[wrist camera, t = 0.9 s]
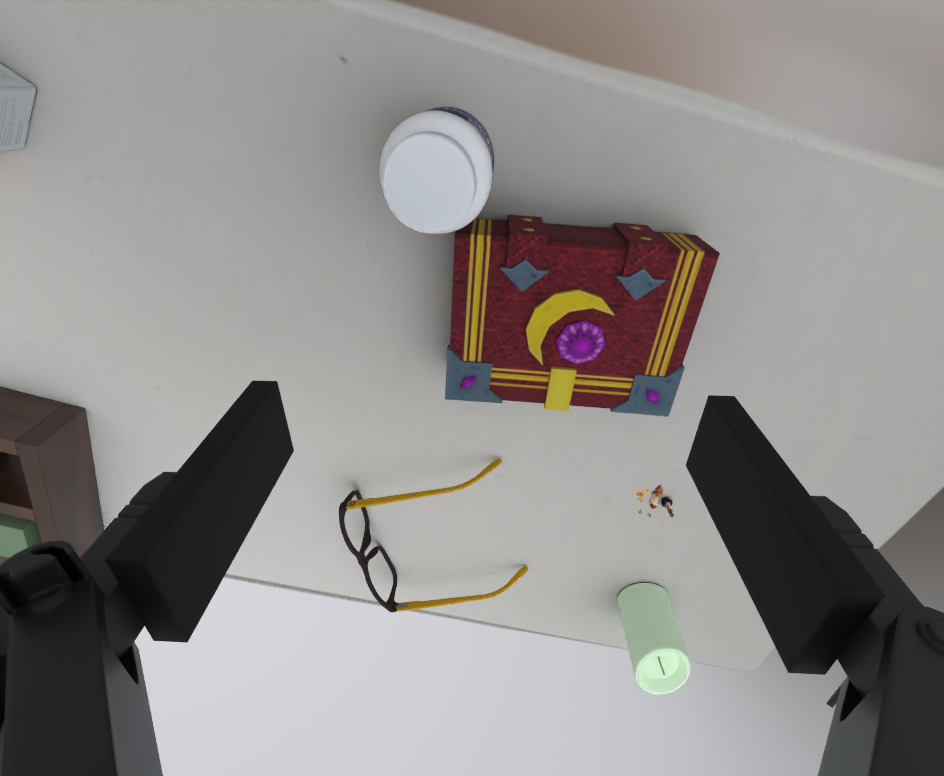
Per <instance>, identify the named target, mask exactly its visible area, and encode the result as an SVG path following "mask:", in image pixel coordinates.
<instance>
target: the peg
mask: <svg viewBox="0 0 944 776" xmlns="http://www.w3.org/2000/svg"><path fill="white" fill-rule="evenodd" d="M40 543H42V541H41V537H40V533H39V529H38V525H37V522H36V521H31V520H27V519H23V518H18V517H14V516H10V515H5V514H1V513H0V556H4V557H8V558H10V557H12V556H13V555H14V554H16V553H18V552H20V551H22V550H24V549H26V548H28V547H30V546H33V545H36V544H40Z"/></svg>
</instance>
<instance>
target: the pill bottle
mask: <svg viewBox="0 0 944 776" xmlns="http://www.w3.org/2000/svg"><path fill="white" fill-rule="evenodd" d="M493 167H494V153H493V147H492V143H491V140H490V137H489V135H488V133H487V131H486V130H485V128H484V127H483V125H482V124H481V123H480V122H479V121H478V120H477V119H476V118H475V117H473V116H472V115H471V114H469V113H467V112H465V111H463V110H460V109H457V108H453V107H440V108H435V109H431V110H427V111H423V112H419V113H417V114H414V115H412V116H411V117H409V118H407V119H405V120H404V121H403V122H401V123H400V124H399V125H398V126H397V127H396V128H395V129H394V130H393V132H392V133H391V134H390V136H389V137H388V139H387V141H386V143H385V145H384V148H383V151H382V154H381V159H380V169H379V171H380V182H381V186H382V190H383V193H384V197H385V199H386V202H387V204H388V206H389V208H390V210H391V211H392V213H393V214H394V215H395V217H396V218H397V219H398V220H399V221H400V222H402V223H403V224H404V225H406V226H407V227H409V228H411V229H413V230H415V231H418V232H422V233H436V234H441V233H449V232H453V231H456V230H458V229H461V228H463V227H464V226H466V225H468V224H469V223H470V222H471V221H472V220H474V219H475V218H476V217H477V215H478V214H479V213H480V212H481V210H482V209H483V207H484V205H485V203H486V201H487V199H488V196H489V193H490V190H491V185H492V175H493Z"/></svg>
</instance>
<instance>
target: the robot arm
mask: <svg viewBox="0 0 944 776" xmlns="http://www.w3.org/2000/svg"><path fill="white" fill-rule="evenodd" d="M293 451H294V449H293V445H292V441H291V437H290V433H289V429H288V424H287V420H286V416H285V412H284V408H283V404H282V400H281V395H280V391H279V387H278V383H277V381H252V382H251V383H250V384H249V386H248V387H247V388H246V389H245V391H244V392H243V393H242V394H241V395H240V397H239V398H238V399H237V400H236V401H235V403H234V404H233V405H232V406H231V408H230V409H229V410H228V411H227V412H226V414H225V415H224V416H223V417H222V418H221V420H220V421H219V422H218V423H217V424H216V426H215V427H214V428H213V429H212V431H211V432H210V433H209V434H208V435H207V437H206V438H205V439H204V440H203V441H202V443H201V444H200V445H199V446H198V447H197V449H196V450H195V451H194V452H193V454H192V455H191V456H190V457H189V458H188V460H187V461H186V462H185V463H184V464H183V466H182V467H181V468H180V469H179V470H178V472H163V473H161V474H160V475H159V476H157V477H156V478H154V479H153V480H151V481H150V482H148V483H147V484H145V485H144V486H143V487H142V488H141V489H140V490H139V492H138V493H137V494H136V495H135V496H134V497H133V498H132V499H131V501H130V504H129V505H126V506H125V507H124V509H123V510H122V511H121V512H120V513H119V514H118V518H115V519H114V520H113V521H112V522H111V523H110V524H109V526H108V527H107V528H106V529H105V530H104V531H103V532H102V534H101V535H100V536H99V537H98V538H97V539H96V540H95V541H94V543H93V544H92V545H91V546H90V547H89V548H88V549H87V551H86V552H85V553H84V554H83V555H82V556H81V557H79V556H78V554H77V553H76V551H75V550H74V548H73V546H72V545H71V544H70V543H67V542H64V541H47V542H43V543H40V544H36V545H33V546H30V547H28V548H26V549H24V550H22V551H20V552H18V553H16V554H14V555H13V556H12V557H10V558H9V559H7V560H6V561H5V562H3V563H2V564H0V776H163V774H162V769H161V764H160V759H159V754H158V748H157V743H156V738H155V732H154V727H153V722H152V717H151V711H150V706H149V701H148V697H147V691H146V686H145V681H144V675H143V670H142V665H141V659H140V654H139V649H138V648H137V646H136V644H135V642H134V641H135V639H136V638H137V636H138V635H139V633H140V632H141V630H142V629H143V627H144V626H145V627H146V629H147V630H148V632H149V634H150V635H151V637H152V639H153V640H154V641H171V642H188V640H189V639H190V637H191V635H192V633H193V631H194V630H195V628H196V626H197V624H198V622H199V621H200V619H201V617H202V615H203V613H204V612H205V610H206V608H207V606H208V604H209V603H210V601H211V599H212V597H213V595H214V594H215V592H216V590H217V588H218V586H219V584H220V583H221V581H222V579H223V577H224V576H225V574H226V572H227V570H228V568H229V567H230V565H231V563H232V561H233V559H234V558H235V556H236V554H237V552H238V550H239V549H240V547H241V545H242V543H243V541H244V540H245V538H246V536H247V534H248V532H249V531H250V529H251V527H252V525H253V523H254V522H255V520H256V518H257V516H258V514H259V513H260V511H261V509H262V507H263V505H264V504H265V502H266V500H267V498H268V496H269V495H270V493H271V491H272V489H273V487H274V486H275V484H276V482H277V480H278V478H279V477H280V475H281V473H282V471H283V469H284V468H285V466H286V464H287V462H288V460H289V459H290V457H291V455H292V453H293ZM686 467H687V469H688V471H689V473H690V475H691V477H692V479H693V481H694V483H695V485H696V487H697V489H698V491H699V493H700V495H701V497H702V499H703V501H704V503H705V505H706V507H707V509H708V511H709V513H710V515H711V517H712V519H713V521H714V523H715V525H716V527H717V529H718V531H719V533H720V535H721V537H722V539H723V541H724V544H725V546H726V548H727V550H728V552H729V554H730V556H731V558H732V560H733V562H734V564H735V566H736V568H737V570H738V572H739V574H740V576H741V578H742V580H743V582H744V584H745V586H746V588H747V590H748V592H749V594H750V596H751V598H752V600H753V602H754V604H755V606H756V608H757V610H758V612H759V614H760V616H761V618H762V620H763V622H764V624H765V626H766V628H767V630H768V632H769V634H770V636H771V638H772V640H773V643H774V645H775V647H776V649H777V650H778V653H779V655H780V656H781V659H782V661H783V663H784V665H785V667H786V669H787V671H788V673H805V674H824V675H825V674H826V673H827V671H828V670H829V669H830V667H831V666H832V665H833V663H834V662H835V661H836V660H837V659H838V661H839V662H840V664H841V666H842V667H843V669H844V671H845V673H846V674H847V676H848V677H847V678H846V679H845V680H844V682H843V683H842V684H841V685H840V687H839V688H838V689H837V690H836V691H835V693H834V694H833V695H832V696H831V698H830V699H829V701H828V702H827V705H829V706H831V707H833V706H834V705H835V704H836V703H837V704H836V708H835V711H834V715H833V719H832V723H831V727H830V731H829V735H828V738H827V742H826V746H825V750H824V754H823V758H822V762H821V766H820V769H819V773H818V776H944V613H942V612H940V611H937V610H935V609H932V608H929V607H924V606H923V605H922V604H921V603H920V602H919V600H918V599H917V598H916V596H915V595H914V594H913V593H912V592H911V590H910V589H909V588H908V587H907V585H906V584H905V583H904V582H903V581H902V579H901V578H900V577H899V576H898V574H897V573H896V572H895V571H894V570H893V568H892V567H891V566H890V565H889V563H888V562H887V561H886V560H885V559H884V557H883V556H882V555H881V554H880V552H879V551H878V550H877V549H874V548H873V546H874V545H873V544H872V543H871V541H870V540H869V539H868V538H867V537H866V535H865V534H862V533H861V529H860V528H859V527H858V525H857V524H856V523H855V522H854V521H853V519H852V518H851V517H850V516H849V514H848V513H847V512H846V511H844V510H843V509H842V508H840V507H839V506H838V505H836V504H835V503H834V502H832V501H831V500H830V499H828V498H827V497H826V496H810V495H809V494H808V492H807V491H806V490H805V488H804V487H803V486H802V484H801V483H800V482H799V480H798V479H797V478H796V477H795V475H794V474H793V473H792V471H791V470H790V469H789V467H788V466H787V465H786V463H785V462H784V461H783V459H782V458H781V457H780V455H779V454H778V453H777V452H776V450H775V449H774V448H773V446H772V445H771V444H770V442H769V441H768V440H767V438H766V437H765V436H764V434H763V433H762V432H761V430H760V429H759V428H758V427H757V425H756V424H755V423H754V421H753V420H752V419H751V417H750V416H749V415H748V413H747V412H746V411H745V409H744V408H743V407H742V406H741V404H740V403H739V402H738V400H737V399H736V398H735V396H708V399H707V402H706V405H705V408H704V411H703V414H702V417H701V420H700V423H699V426H698V429H697V432H696V436H695V439H694V442H693V445H692V448H691V451H690V454H689V457H688V460H687V463H686Z"/></svg>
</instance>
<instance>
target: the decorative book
mask: <svg viewBox="0 0 944 776" xmlns="http://www.w3.org/2000/svg"><path fill="white" fill-rule="evenodd" d="M719 254H720V253H719V252H718V251H716V250H715V249H714V248H712V247H711V246H710V245H708V244H707V243H706V242H704V241H703V240H702V239H700V238H699V237H698V236H696V235H688V234H675V233H661V232H654V231H653V230H652V229H651V228H649V227H648V226H647V225H634V224H621V223H614V226H613V229H609V228H595V227H582V226H569V225H556V224H543V221H542V218H541V217H529V216H516V215H508V221H503V220H490V219H477V218H475V219H474V220H472V221H471V222H470V223H469V224H468V225H466V226H464V227H463V228H461V229H458V230H456V231H455V245H454V268H453V291H452V314H451V337H450V345H448V349H447V369H446V390H445V399H450V400H465V401H479V402H493V403H502V400H508V401H521V402H534V403H544V408H545V409H547V410H560V411H568V410H569V405H573V406H585V407H598V408H610V410H611V412H622V413H633V414H645V415H656V416H669V413H670V410H671V407H672V404H673V401H674V398H675V395H676V392H677V389H678V386H679V383H680V380H681V377H682V374H683V371H684V366H683V365H682V363H683V360H684V357H685V354H686V351H687V348H688V346H689V343H690V340H691V337H692V334H693V331H694V328H695V325H696V322H697V319H698V316H699V313H700V310H701V307H702V304H703V301H704V298H705V295H706V292H707V289H708V287H709V284H710V281H711V278H712V275H713V272H714V269H715V266H716V263H717V260H718V257H719Z"/></svg>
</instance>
